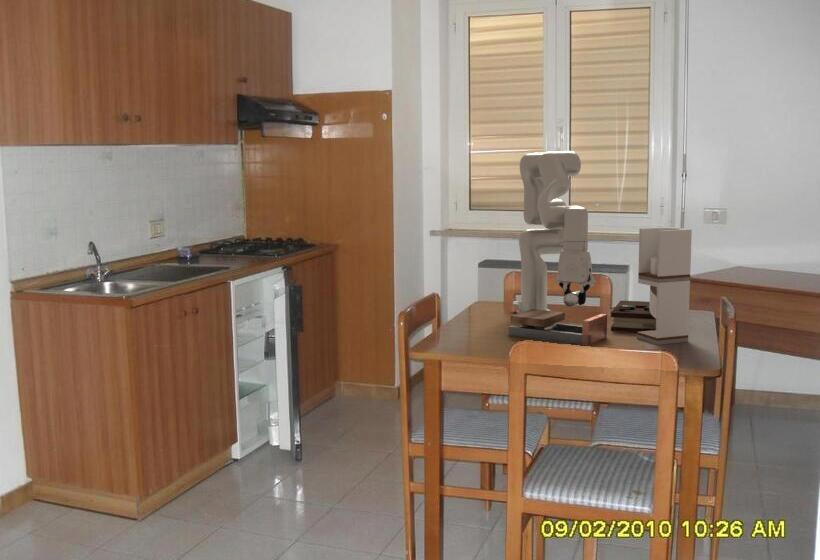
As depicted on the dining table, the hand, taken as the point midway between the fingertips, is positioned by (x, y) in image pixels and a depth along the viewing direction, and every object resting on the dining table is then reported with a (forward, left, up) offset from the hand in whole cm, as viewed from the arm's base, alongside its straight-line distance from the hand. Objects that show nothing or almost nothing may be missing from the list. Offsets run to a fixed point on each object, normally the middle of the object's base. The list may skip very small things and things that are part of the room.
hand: (574, 303), depth 271 cm
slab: (-13, 0, -7) cm, 15 cm away
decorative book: (+9, +32, -12) cm, 36 cm away
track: (-6, 0, -11) cm, 13 cm away
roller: (0, 0, 0) cm, 0 cm away
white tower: (+24, +13, -12) cm, 30 cm away
